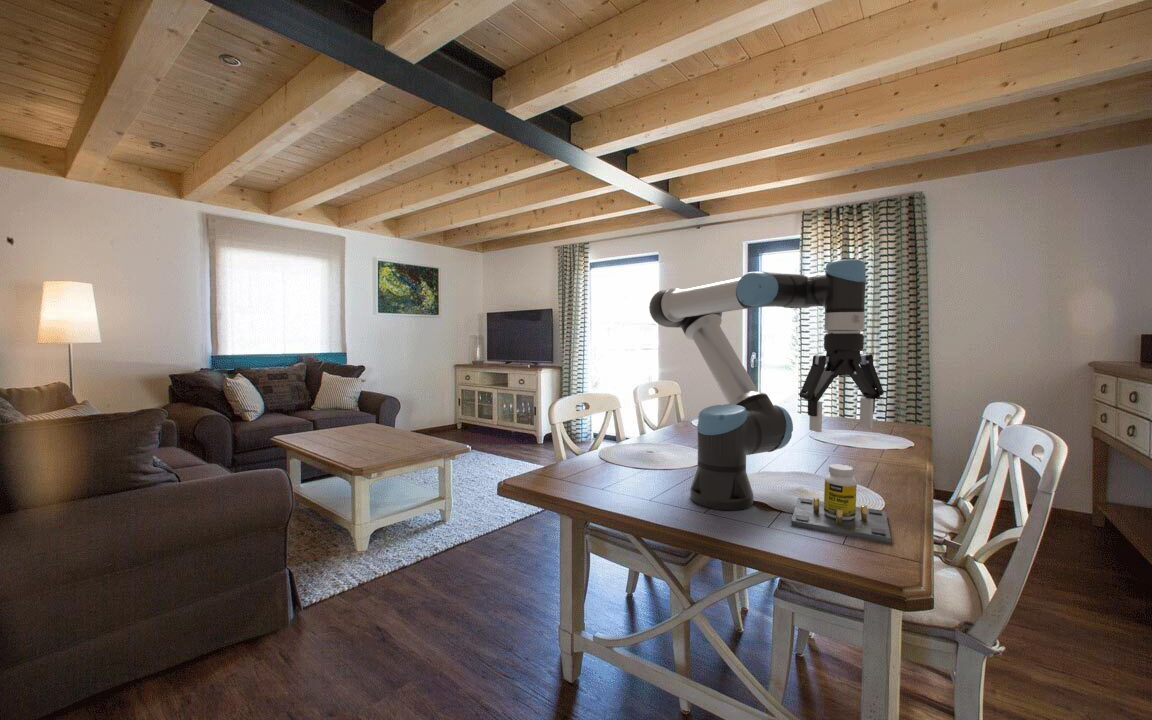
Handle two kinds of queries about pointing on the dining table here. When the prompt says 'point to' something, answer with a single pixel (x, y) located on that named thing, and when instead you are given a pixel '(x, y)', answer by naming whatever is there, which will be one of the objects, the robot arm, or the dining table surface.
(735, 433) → the robot arm
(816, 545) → the dining table surface
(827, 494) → the pill bottle
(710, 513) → the dining table surface
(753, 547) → the dining table surface
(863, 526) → the plate
